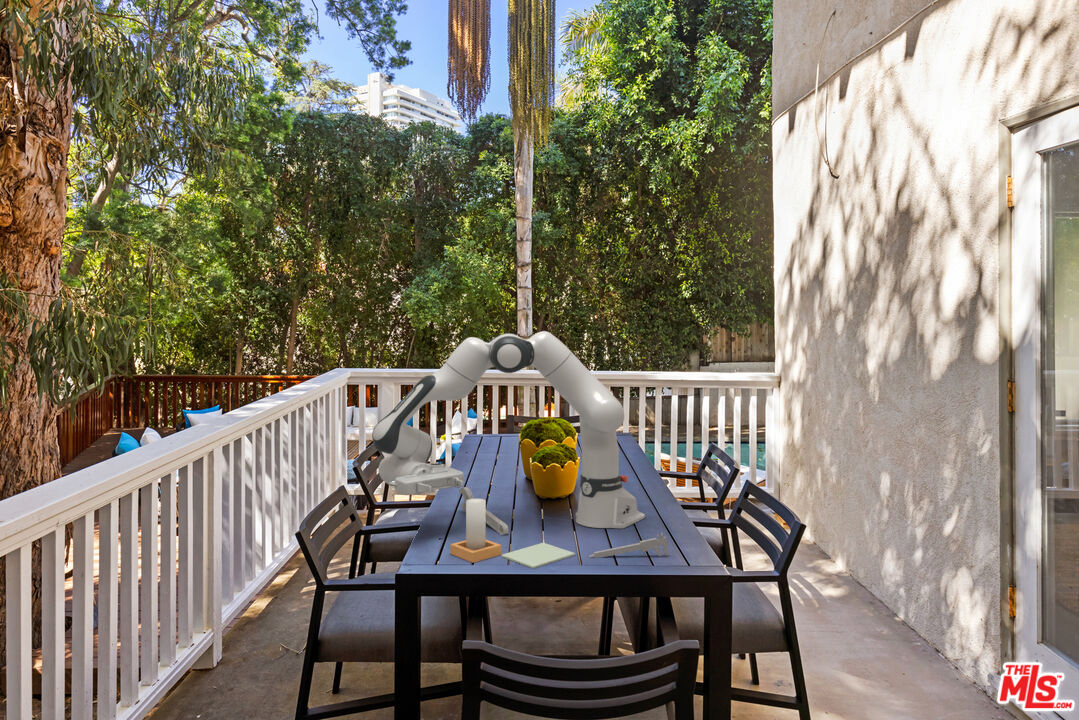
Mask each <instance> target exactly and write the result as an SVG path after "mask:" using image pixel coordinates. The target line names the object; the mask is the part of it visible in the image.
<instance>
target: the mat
mask: <svg viewBox="0 0 1079 720" xmlns="http://www.w3.org/2000/svg"><path fill="white" fill-rule="evenodd" d="M500 556H501V557H500V558H503V559H506V560H508V561H512V562H514V563H516V562H517V563H516V564H519V563H520V565H522V566H525V567H527V568H530V569H532V570H533V569H534V570H535V569H537V568H540V567H543V566H547V565H549V564H551V563H555V562H559V561H561V560H564V559H568V558H571V557H574V556H576V553H575V552H572V551H570V550H566V549H564V548H560V547H557V546H555V545H552V544H548V543H546V542H540V543H537V544H533V545H530V546H527V547H524V548H520V549H517V550H513V551H510V552H507V553H504V554H503V553H501V555H500Z"/></svg>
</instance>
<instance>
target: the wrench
mask: <svg viewBox="0 0 1079 720" xmlns="http://www.w3.org/2000/svg"><path fill="white" fill-rule="evenodd" d="M458 494H462V496H463V499H464V502H462V503H461V504H460V506H461V508H462V509H463V511H464V513H466V501H467V500H469V499H476V498H475V496H474V495H473V493H472V490H471V489H470V487H468V486H465V487H463V486H462V487H460V488H459V490H458ZM486 524H487V525H488V526H489V527H491V528H492V529H493V530H494V531H496V533H498V534H499V533H500V535H501V536H505V535H508V534H509V531H510V530H509V526H508V525H507V524H506V523H505V522H504V521H503V520H501V519H500V518H499V517H497V515H495V514H494V513H492V512H490V511H489V510H487V509H486Z"/></svg>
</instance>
